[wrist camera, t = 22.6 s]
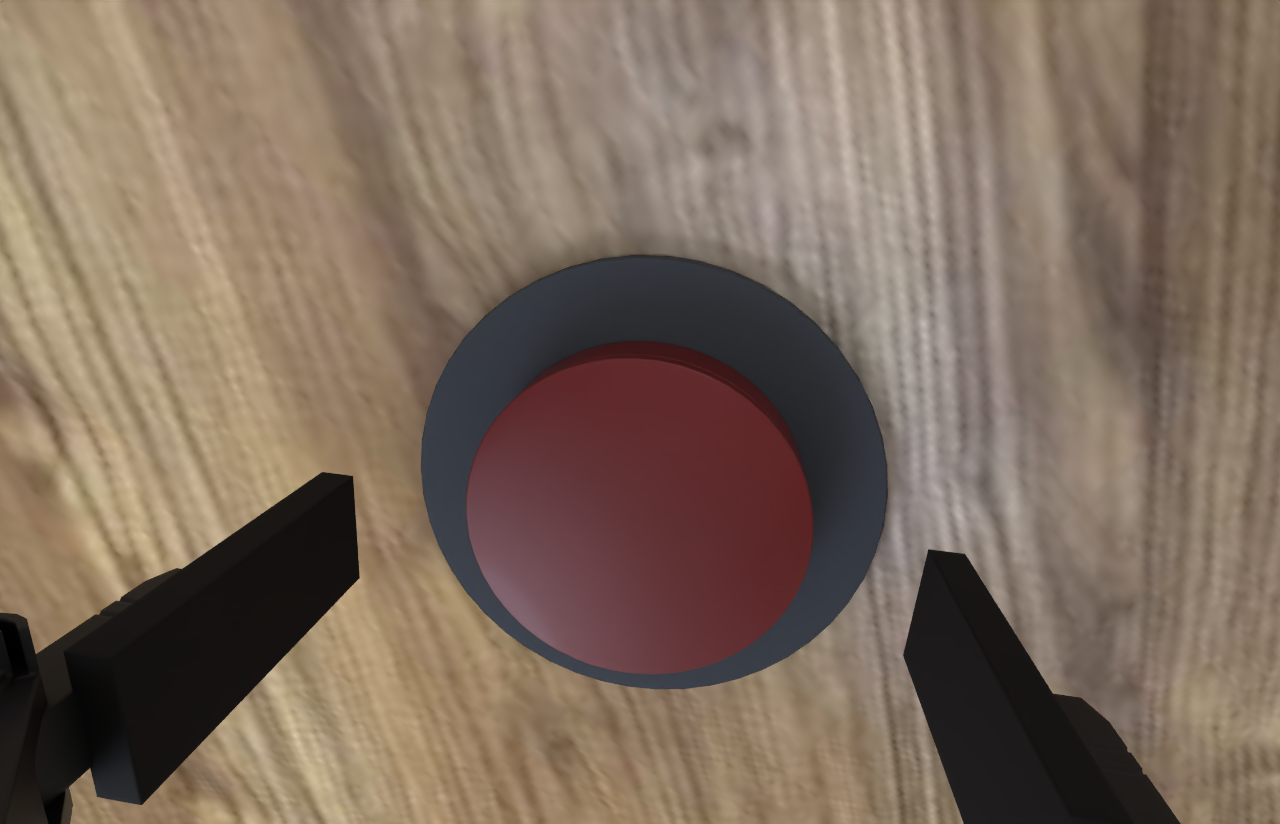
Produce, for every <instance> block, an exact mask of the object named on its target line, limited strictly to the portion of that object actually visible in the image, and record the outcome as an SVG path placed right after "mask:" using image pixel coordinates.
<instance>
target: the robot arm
mask: <svg viewBox="0 0 1280 824" xmlns="http://www.w3.org/2000/svg"><path fill="white" fill-rule="evenodd" d="M359 578H360V577H359V561H358V546H357V531H356V515H355V500H354V485H353V476H349V475H341V474H333V473H325V472H322V473H320V474H319V475H317V476H316V477H314V478H313V479H312V480H310V481H309V482H307V483H306V484H304V485H303V486H301V487H300V488H299V489H297V490H296V491H294V492H293V493H291V494H290V495H288V496H287V497H286V498H284V499H283V500H281V501H280V502H278V503H277V504H275V505H274V506H273V507H271V508H270V509H268V510H267V511H265V512H264V513H262V514H261V515H260V516H258V517H257V518H255V519H254V520H252V521H251V522H249V523H248V524H247V525H245V526H244V527H242V528H241V529H239V530H238V531H236V532H235V533H234V534H232V535H231V536H229V537H228V538H226V539H225V540H223V541H222V542H221V543H219V544H218V545H216V546H215V547H213V548H212V549H210V550H209V551H208V552H206V553H205V554H203V555H202V556H200V557H199V558H197V559H196V560H195V561H193V562H192V563H190V564H189V565H187V566H186V567H184V568H183V569H178V568H176V569H173V570H171V571H169V572H166V573H164V574H161V575H159V576H157V577H154V578H152V579H149V580H147V581H145V582H143V583H142V584H140V585H139V586H137V587H136V588H134V589H133V590H131V591H130V592H128V593H127V594H125V595H124V596H122V597H121V600H120V601H115V602H113V603H112V604H110V605H109V606H107V607H106V608H104V609H103V610H102V611H101V613H100V614H99V615H94V616H93V617H91V618H90V619H88V620H87V621H85V622H84V623H82V624H81V625H79V626H78V627H76V628H75V629H73V630H72V631H70V632H69V633H67V634H66V635H64V636H63V637H61V638H60V639H58V640H57V641H55V642H54V643H52V644H51V645H49V646H48V647H46V648H45V649H43V650H42V651H40V652H39V653H37V654H35V650H34V646H33V642H32V638H31V634H30V630H29V626H28V622H27V619H26V618H24V617H22V616H20V615H18V614H10V613H0V824H70V821H71V814H72V807H73V803H72V798H71V794H70V790H69V786H70V785H71V784H73V783H74V782H75V781H76V780H77V779H78V778H79V777H80V776H81V775H83V774H84V773H85V772H86V771H87V770H88V769H89V768H91V772H92V777H93V781H94V785H95V789H96V794H97V797H101V798H106V799H111V800H117V801H122V802H128V803H133V804H139V805H142V804H143V803H144V802H145V801H146V800H147V799H148V798H149V797H150V796H151V795H152V794H153V793H154V792H155V791H156V790H157V789H158V788H159V787H160V785H161V784H162V783H163V782H164V781H165V780H166V779H167V778H168V777H169V776H170V775H171V774H172V773H173V772H174V771H175V770H176V769H177V768H178V767H179V766H180V765H181V764H182V763H183V761H184V760H185V759H186V758H187V757H188V756H189V755H190V754H191V753H192V752H193V751H194V750H195V749H196V748H197V747H198V746H199V745H200V744H201V743H202V742H203V741H204V740H205V739H206V737H207V736H208V735H209V734H210V733H211V732H212V731H213V730H214V729H215V728H216V727H217V726H218V725H219V724H220V723H221V722H222V721H223V720H224V719H225V718H226V717H227V716H228V715H229V713H230V712H231V711H232V710H233V709H234V708H235V707H236V706H237V705H238V704H239V703H240V702H241V701H242V700H243V699H244V698H245V697H246V696H247V695H248V694H249V693H250V692H251V691H252V689H253V688H254V687H255V686H256V685H257V684H258V683H259V682H260V681H261V680H262V679H263V678H264V677H265V676H266V675H267V674H268V673H269V672H270V671H271V670H272V669H273V668H274V667H275V665H276V664H277V663H278V662H279V661H280V660H281V659H282V658H283V657H284V656H285V655H286V654H287V653H288V652H289V651H290V650H291V649H292V648H293V647H294V646H295V645H296V644H297V643H298V641H299V640H300V639H301V638H302V637H303V636H304V635H305V634H306V633H307V632H308V631H309V630H310V629H311V628H312V627H313V626H314V625H315V624H316V623H317V622H318V621H319V620H320V619H321V617H322V616H323V615H324V614H325V613H326V612H327V611H328V610H329V609H330V608H331V607H332V606H333V605H334V604H335V603H336V602H337V601H338V600H339V599H340V598H341V597H342V596H343V595H344V593H345V592H346V591H347V590H348V589H349V588H350V587H351V586H352V585H353V584H354V583H355V582H356V581H357V580H358V579H359ZM903 656H904V659H905V662H906V664H907V667H908V670H909V673H910V676H911V678H912V681H913V684H914V687H915V689H916V692H917V695H918V698H919V701H920V703H921V706H922V709H923V712H924V714H925V717H926V720H927V723H928V725H929V728H930V731H931V734H932V737H933V739H934V742H935V745H936V748H937V750H938V753H939V756H940V759H941V762H942V764H943V767H944V770H945V773H946V775H947V778H948V781H949V784H950V786H951V789H952V792H953V795H954V798H955V800H956V803H957V806H958V809H959V811H960V814H961V817H962V820H963V823H964V824H1180V822H1179V821H1178V819H1177V818H1176V816H1175V815H1174V814H1173V812H1172V811H1171V809H1170V808H1169V806H1168V805H1167V804H1166V802H1165V801H1164V799H1163V798H1162V796H1161V795H1160V794H1159V792H1158V791H1157V789H1156V788H1155V787H1154V785H1153V784H1152V782H1151V781H1150V779H1149V778H1148V777H1147V775H1145V774H1143V773H1142V768H1141V767H1140V765H1139V764H1138V762H1137V761H1136V759H1135V758H1134V757H1133V755H1132V754H1131V753H1129V752H1127V747H1126V745H1125V744H1124V742H1123V741H1122V739H1121V738H1120V737H1119V735H1118V734H1117V732H1116V731H1115V729H1114V728H1113V727H1112V725H1111V724H1110V722H1109V721H1108V720H1106V719H1105V718H1104V717H1103V716H1102V715H1101V714H1099V713H1098V712H1097V711H1096V710H1095V709H1094V708H1092V707H1091V706H1090V705H1089V704H1088V703H1086V702H1085V701H1084V700H1083V699H1082V698H1079V697H1072V696H1065V695H1058V694H1053V693H1052V691H1051V690H1050V688H1049V687H1048V685H1047V684H1046V682H1045V680H1044V679H1043V677H1042V676H1041V674H1040V672H1039V671H1038V669H1037V668H1036V666H1035V664H1034V663H1033V661H1032V660H1031V658H1030V656H1029V655H1028V653H1027V652H1026V650H1025V649H1024V647H1023V645H1022V644H1021V642H1020V641H1019V639H1018V637H1017V636H1016V634H1015V633H1014V631H1013V629H1012V628H1011V626H1010V625H1009V623H1008V621H1007V620H1006V618H1005V617H1004V615H1003V614H1002V612H1001V610H1000V609H999V607H998V606H997V604H996V602H995V601H994V599H993V598H992V596H991V594H990V593H989V591H988V590H987V588H986V586H985V585H984V583H983V582H982V580H981V579H980V577H979V575H978V574H977V572H976V571H975V569H974V567H973V566H972V564H971V563H970V561H969V559H968V558H967V556H966V555H965V554H961V553H953V552H945V551H937V550H929V549H928V553H927V557H926V562H925V566H924V570H923V574H922V579H921V583H920V587H919V591H918V595H917V600H916V604H915V608H914V612H913V616H912V621H911V625H910V629H909V633H908V637H907V642H906V646H905V650H904V654H903Z"/></svg>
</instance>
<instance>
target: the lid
mask: <svg viewBox="0 0 1280 824" xmlns="http://www.w3.org/2000/svg"><path fill="white" fill-rule="evenodd" d="M466 519H467V525H468V532H469V538H470V541H471V545H472V548H473V551H474V555H475V558H476V560H477V562H478V565H479V567H480V569H481V571H482V574H483V576H484V578H485V579H486V581H487V583H488V584H489V586H490V588H491V589H492V591H493V593H494V594H495V595H496V597H497V598H498V599H499V600H500V602H501V603H502V604H503V606H504V607H505V608H506V609H507V610H508V612H509V613H510V614H511V615H512V616H513V617H514V618H515V619H516V620H517V621H518V622H519V623H520V624H521V625H523V626H524V627H525V628H526V629H527V630H529V631H530V632H531V633H532V634H534V635H535V636H536V637H537V638H539V639H540V640H542V641H544V642H545V643H547V644H548V645H550V646H551V647H553V648H554V649H556V650H558V651H560V652H562V653H564V654H566V655H568V656H570V657H572V658H575V659H577V660H580V661H583V662H585V663H588V664H591V665H593V666H597V667H601V668H605V669H609V670H613V671H619V672H626V673H633V674H667V673H678V672H683V671H688V670H693V669H698V668H701V667H704V666H707V665H710V664H714V663H717V662H719V661H721V660H723V659H725V658H728V657H730V656H732V655H734V654H736V653H738V652H739V651H741V650H742V649H744V648H746V647H747V646H749V645H751V644H752V643H753V642H755V641H756V640H757V639H758V638H760V637H761V636H762V635H763V634H764V633H766V632H767V631H768V630H769V629H770V628H771V627H772V626H773V625H774V624H775V623H776V622H777V620H778V619H779V618H780V617H781V616H782V615H783V614H784V612H785V611H786V609H787V608H788V606H789V605H790V603H791V602H792V601H793V599H794V598H795V596H796V594H797V592H798V590H799V588H800V586H801V584H802V582H803V579H804V576H805V573H806V570H807V567H808V564H809V561H810V556H811V550H812V544H813V527H814V517H813V509H812V502H811V495H810V491H809V487H808V483H807V479H806V475H805V471H804V467H803V464H802V460H801V457H800V453H799V450H798V447H797V445H796V442H795V440H794V438H793V436H792V433H791V431H790V429H789V427H788V426H787V424H786V422H785V421H784V419H783V418H782V416H781V414H780V413H779V411H778V410H777V409H776V408H775V406H774V405H773V404H772V403H771V402H770V400H769V399H768V398H767V397H766V396H765V394H764V393H762V392H761V391H760V390H759V389H758V388H757V387H756V386H755V385H754V384H753V383H752V382H750V381H749V380H748V379H747V378H746V377H744V376H743V375H741V374H740V373H738V372H737V371H736V370H734V369H733V368H731V367H730V366H728V365H726V364H724V363H722V362H720V361H718V360H716V359H715V358H713V357H711V356H708V355H706V354H703V353H700V352H697V351H695V350H692V349H689V348H686V347H681V346H677V345H672V344H668V343H660V342H649V341H629V342H617V343H611V344H605V345H600V346H597V347H593V348H590V349H587V350H584V351H580V352H578V353H576V354H574V355H572V356H569V357H567V358H565V359H563V360H561V361H559V362H558V363H556V364H555V365H553V366H551V367H550V368H548V369H547V370H545V371H544V372H542V373H541V374H540V375H539V376H538V377H537V378H536V379H534V380H533V381H532V382H531V383H530V384H529V385H528V386H527V387H525V388H524V389H523V390H522V391H521V392H520V393H519V394H518V395H517V396H516V397H515V398H514V399H513V400H512V401H511V402H510V403H509V404H508V405H507V406H506V407H505V408H504V409H503V411H502V412H501V413H500V414H499V415H498V416H497V418H496V419H495V420H494V421H493V423H492V424H491V426H490V427H489V429H488V431H487V432H486V434H485V435H484V437H483V438H482V441H481V443H480V445H479V447H478V450H477V452H476V454H475V456H474V459H473V463H472V466H471V470H470V474H469V478H468V485H467V493H466Z"/></svg>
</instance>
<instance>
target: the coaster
mask: <svg viewBox="0 0 1280 824" xmlns="http://www.w3.org/2000/svg"><path fill="white" fill-rule="evenodd" d="M629 341H649V342H660V343H668V344H672V345H677V346H681V347H686V348H689V349H692V350H695V351H697V352H700V353H703V354H706V355H708V356H711V357H713V358H715V359H716V360H718V361H720V362H722V363H724V364H726V365H728V366H730V367H731V368H733V369H734V370H736V371H737V372H738V373H740V374H741V375H743V376H744V377H746V378H747V379H748V380H749V381H750V382H752V383H753V384H754V385H755V386H756V387H757V388H758V389H759V390H760V391H761V392H762V393H764V394H765V396H766V397H767V398H768V399H769V400H770V402H771V403H772V404H773V405H774V406H775V408H776V409H777V410H778V411H779V413H780V414H781V416H782V418H783V419H784V421H785V422H786V424H787V426H788V427H789V429H790V431H791V433H792V436H793V438H794V440H795V442H796V445H797V447H798V450H799V453H800V457H801V460H802V464H803V467H804V471H805V475H806V479H807V483H808V487H809V491H810V495H811V502H812V509H813V517H814V527H813V544H812V550H811V556H810V561H809V564H808V567H807V570H806V573H805V576H804V579H803V582H802V584H801V586H800V588H799V590H798V592H797V594H796V596H795V598H794V599H793V601H792V602H791V603H790V605H789V606H788V608H787V609H786V611H785V612H784V614H783V615H782V616H781V617H780V618H779V619H778V620H777V622H776V623H775V624H774V625H773V626H772V627H771V628H770V629H769V630H768V631H767V632H766V633H764V634H763V635H762V636H761V637H760V638H758V639H757V640H756V641H755V642H753V643H752V644H751V645H749V646H747V647H746V648H744V649H742V650H741V651H739V652H738V653H736V654H734V655H732V656H730V657H728V658H725V659H723V660H721V661H719V662H717V663H714V664H710V665H707V666H704V667H701V668H698V669H693V670H688V671H683V672H678V673H667V674H633V673H626V672H619V671H613V670H609V669H605V668H601V667H597V666H593V665H591V664H588V663H585V662H583V661H580V660H577V659H575V658H572V657H570V656H568V655H566V654H564V653H562V652H560V651H558V650H556V649H554V648H553V647H551V646H550V645H548V644H547V643H545V642H544V641H542V640H540V639H539V638H537V637H536V636H535V635H534V634H532V633H531V632H530V631H529V630H527V629H526V628H525V627H524V626H523V625H521V624H520V623H519V622H518V621H517V620H516V619H515V618H514V617H513V616H512V615H511V614H510V613H509V612H508V610H507V609H506V608H505V607H504V606H503V604H502V603H501V602H500V600H499V599H498V598H497V597H496V595H495V594H494V593H493V591H492V589H491V588H490V586H489V584H488V583H487V581H486V579H485V578H484V576H483V574H482V571H481V569H480V567H479V565H478V562H477V560H476V558H475V555H474V551H473V548H472V545H471V541H470V538H469V532H468V525H467V519H466V493H467V485H468V478H469V474H470V470H471V466H472V463H473V459H474V456H475V454H476V452H477V450H478V447H479V445H480V443H481V441H482V438H483V437H484V435H485V434H486V432H487V431H488V429H489V427H490V426H491V424H492V423H493V421H494V420H495V419H496V418H497V416H498V415H499V414H500V413H501V412H502V411H503V409H504V408H505V407H506V406H507V405H508V404H509V403H510V402H511V401H512V400H513V399H514V398H515V397H516V396H517V395H518V394H519V393H520V392H521V391H522V390H523V389H524V388H525V387H527V386H528V385H529V384H530V383H531V382H532V381H533V380H534V379H536V378H537V377H538V376H539V375H540V374H541V373H542V372H544V371H545V370H547V369H548V368H550V367H551V366H553V365H555V364H556V363H558V362H559V361H561V360H563V359H565V358H567V357H569V356H572V355H574V354H576V353H578V352H580V351H584V350H587V349H590V348H593V347H597V346H600V345H605V344H611V343H617V342H629ZM421 473H422V484H423V494H424V499H425V503H426V507H427V512H428V516H429V520H430V523H431V526H432V529H433V531H434V534H435V537H436V539H437V542H438V545H439V547H440V549H441V551H442V553H443V555H444V557H445V559H446V561H447V562H448V564H449V566H450V568H451V570H452V572H453V573H454V575H455V576H456V577H457V579H458V580H459V582H460V583H461V585H462V586H463V588H464V589H465V591H466V592H467V593H468V595H469V596H470V597H471V598H472V599H473V600H474V601H475V603H476V604H477V605H478V606H479V607H480V608H481V609H482V611H483V612H484V613H485V614H486V615H487V616H488V617H489V618H491V619H492V620H493V621H494V622H495V623H496V624H497V625H498V626H499V627H500V628H501V629H503V630H504V631H505V632H506V633H507V634H509V635H510V636H512V637H513V638H514V639H516V640H517V641H518V642H520V643H521V644H522V645H524V646H525V647H527V648H528V649H530V650H532V651H533V652H535V653H537V654H539V655H540V656H542V657H544V658H545V659H547V660H549V661H551V662H553V663H555V664H558V665H560V666H562V667H564V668H567V669H569V670H571V671H573V672H576V673H579V674H582V675H585V676H588V677H591V678H594V679H597V680H601V681H605V682H610V683H614V684H619V685H624V686H630V687H640V688H650V689H685V688H694V687H702V686H710V685H714V684H719V683H723V682H727V681H731V680H735V679H739V678H741V677H744V676H747V675H750V674H752V673H755V672H758V671H760V670H763V669H765V668H767V667H769V666H771V665H773V664H775V663H777V662H779V661H781V660H783V659H785V658H787V657H788V656H790V655H791V654H793V653H794V652H796V651H797V650H799V649H800V648H801V647H803V646H804V645H806V644H807V643H809V642H810V641H811V640H812V639H814V638H815V637H816V636H817V635H818V634H819V633H820V632H821V631H823V630H824V629H825V628H826V627H827V626H828V625H829V624H830V623H831V622H832V621H833V620H834V619H835V618H836V617H837V615H838V614H839V613H840V612H841V611H842V610H843V608H844V607H845V606H846V605H847V604H848V603H849V601H850V599H851V598H852V596H853V595H854V593H855V592H856V590H857V589H858V587H859V585H860V584H861V582H862V581H863V579H864V577H865V575H866V573H867V571H868V568H869V566H870V564H871V562H872V560H873V557H874V555H875V553H876V550H877V547H878V543H879V540H880V536H881V533H882V529H883V526H884V519H885V512H886V504H887V497H888V488H887V462H886V456H885V450H884V444H883V438H882V434H881V431H880V428H879V425H878V422H877V419H876V416H875V412H874V409H873V406H872V404H871V402H870V400H869V398H868V396H867V394H866V392H865V390H864V388H863V386H862V384H861V382H860V380H859V378H858V376H857V375H856V373H855V372H854V370H853V369H852V368H851V366H850V365H849V363H848V362H847V360H846V359H845V357H844V356H843V354H842V353H841V351H840V350H839V348H838V347H837V346H836V345H835V344H834V343H833V342H832V340H831V339H830V338H829V337H828V336H827V335H826V334H825V333H824V332H823V331H822V329H821V328H820V327H819V326H818V325H817V324H816V323H815V322H814V321H812V320H811V319H810V318H809V317H808V316H806V315H805V314H804V313H803V312H802V311H800V310H799V309H798V308H797V307H796V306H794V305H793V304H792V303H791V302H789V301H788V300H786V299H785V298H783V297H781V296H780V295H778V294H777V293H775V292H773V291H772V290H770V289H769V288H767V287H765V286H764V285H762V284H760V283H758V282H755V281H753V280H751V279H749V278H747V277H744V276H742V275H740V274H738V273H736V272H733V271H731V270H727V269H724V268H721V267H717V266H714V265H711V264H707V263H704V262H701V261H695V260H689V259H683V258H676V257H670V256H647V255H631V256H622V257H613V258H604V259H598V260H594V261H591V262H587V263H583V264H579V265H575V266H571V267H568V268H566V269H563V270H561V271H558V272H556V273H553V274H551V275H548V276H546V277H544V278H541V279H539V280H537V281H535V282H533V283H532V284H530V285H528V286H526V287H525V288H523V289H521V290H520V291H518V292H516V293H515V294H513V295H511V296H509V297H508V298H507V299H506V300H504V301H503V302H502V303H501V304H499V305H498V306H497V307H495V308H494V309H493V310H492V311H490V312H489V313H488V314H487V315H485V316H484V318H483V319H482V320H481V321H480V322H479V323H478V324H477V325H476V326H475V327H474V328H473V329H472V330H471V331H470V332H469V333H468V335H467V336H466V337H465V338H464V339H463V341H462V342H461V344H460V345H459V347H458V348H457V349H456V351H455V352H454V354H453V355H452V357H451V358H450V359H449V361H448V363H447V365H446V367H445V369H444V371H443V373H442V375H441V377H440V379H439V381H438V383H437V385H436V387H435V390H434V393H433V396H432V399H431V402H430V405H429V408H428V411H427V415H426V421H425V426H424V432H423V437H422V454H421Z"/></svg>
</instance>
